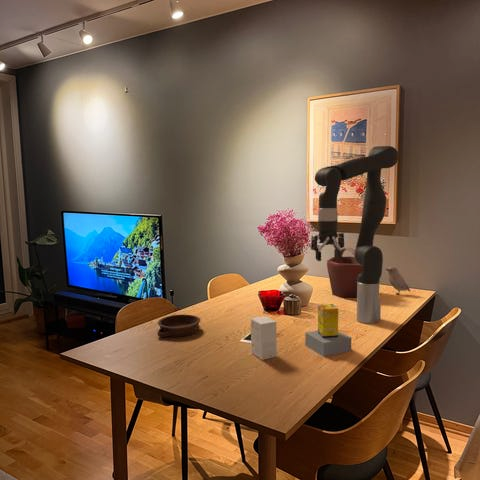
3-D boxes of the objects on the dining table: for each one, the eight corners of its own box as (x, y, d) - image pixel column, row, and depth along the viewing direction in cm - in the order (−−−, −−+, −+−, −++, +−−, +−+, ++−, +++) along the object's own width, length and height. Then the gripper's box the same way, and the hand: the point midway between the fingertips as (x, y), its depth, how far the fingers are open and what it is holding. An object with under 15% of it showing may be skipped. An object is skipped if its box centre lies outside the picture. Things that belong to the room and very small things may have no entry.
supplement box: (317, 332, 171) (317, 304, 170) (332, 331, 172) (333, 303, 170) (322, 338, 165) (322, 309, 164) (338, 337, 166) (338, 308, 165)
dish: (212, 328, 195) (212, 316, 194) (176, 344, 177) (176, 331, 176) (182, 321, 205) (181, 310, 204) (145, 335, 187) (144, 323, 186)
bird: (383, 293, 245) (384, 265, 243) (409, 293, 243) (410, 265, 241) (385, 295, 240) (385, 267, 238) (411, 296, 238) (412, 267, 236)
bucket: (375, 300, 231) (376, 251, 227) (331, 301, 231) (331, 252, 228) (362, 288, 255) (363, 244, 252) (323, 289, 255) (323, 245, 252)
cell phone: (239, 342, 177) (239, 341, 177) (255, 329, 192) (255, 328, 192) (258, 345, 174) (257, 344, 174) (273, 332, 189) (273, 330, 188)
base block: (331, 340, 177) (331, 327, 176) (351, 350, 166) (351, 337, 166) (305, 345, 172) (305, 332, 172) (323, 356, 162) (323, 343, 161)
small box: (277, 357, 162) (276, 321, 160) (261, 360, 159) (261, 324, 157) (266, 349, 169) (265, 315, 167) (250, 352, 167) (250, 318, 165)
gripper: (337, 217, 187) (336, 256, 189) (307, 219, 181) (307, 259, 183) (348, 218, 180) (348, 259, 182) (318, 221, 174) (318, 263, 176)
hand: (327, 259), depth 183 cm, fingers open, 8 cm apart
